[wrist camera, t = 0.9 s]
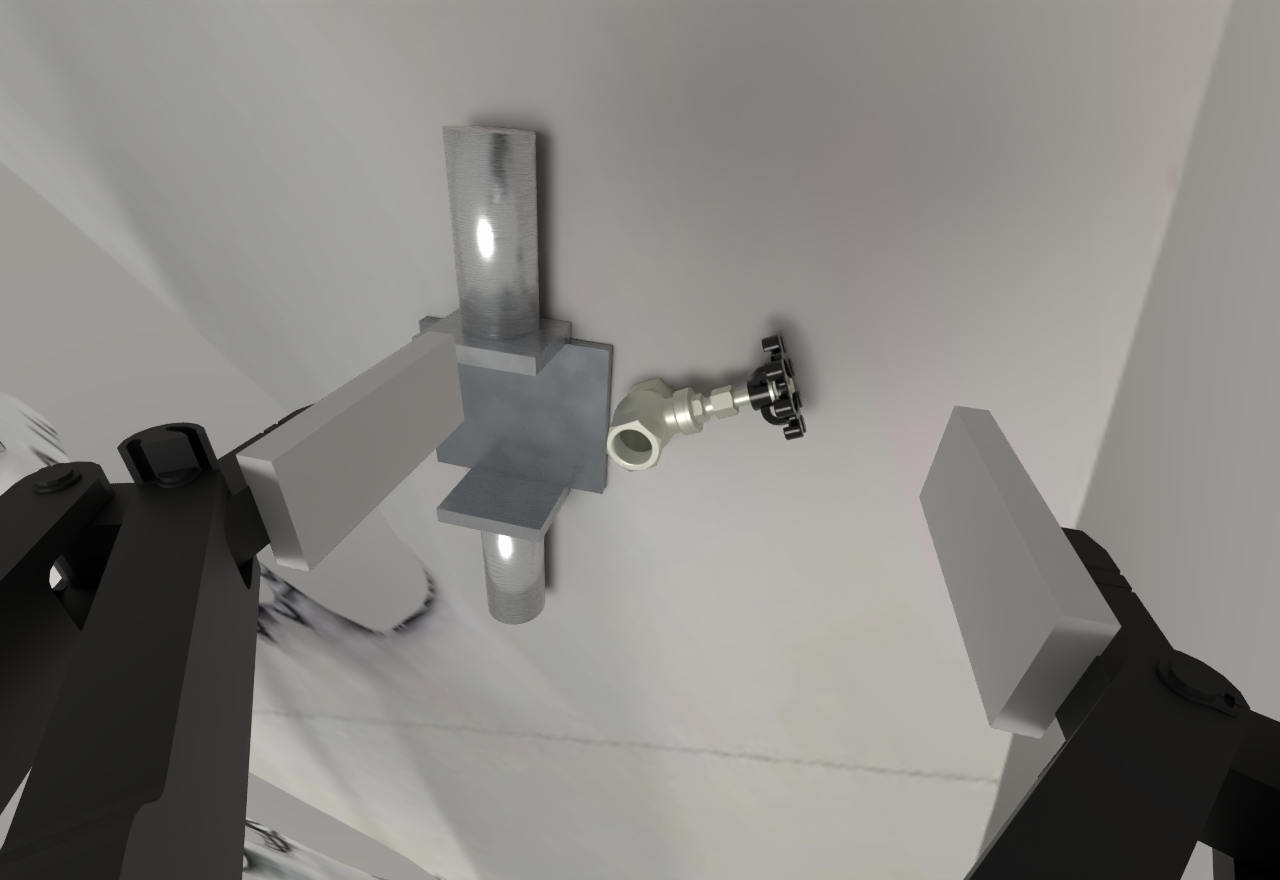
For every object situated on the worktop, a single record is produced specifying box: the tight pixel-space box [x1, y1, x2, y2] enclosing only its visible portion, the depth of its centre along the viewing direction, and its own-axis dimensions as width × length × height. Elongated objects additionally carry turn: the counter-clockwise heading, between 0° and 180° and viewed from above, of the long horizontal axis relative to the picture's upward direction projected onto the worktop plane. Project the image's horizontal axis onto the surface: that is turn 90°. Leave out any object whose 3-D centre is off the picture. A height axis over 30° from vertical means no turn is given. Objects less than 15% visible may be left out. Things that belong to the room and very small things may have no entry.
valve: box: [606, 335, 806, 471], centre depth 37 cm, size 7×7×12 cm
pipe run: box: [412, 126, 613, 624], centre depth 41 cm, size 37×14×6 cm, turn 176°
